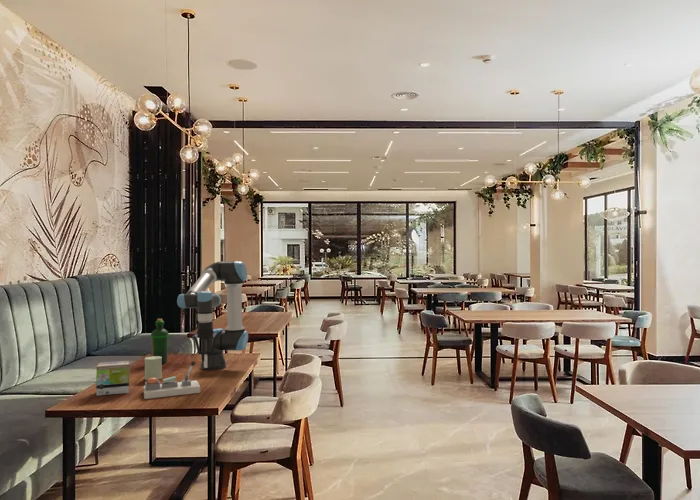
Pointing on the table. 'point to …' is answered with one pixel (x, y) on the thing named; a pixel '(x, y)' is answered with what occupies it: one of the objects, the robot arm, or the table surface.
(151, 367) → the can
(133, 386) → the table surface
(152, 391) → the switch panel
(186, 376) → the toggle lever
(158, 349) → the bottle
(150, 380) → the push button
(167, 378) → the rocker switch
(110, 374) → the tea box
